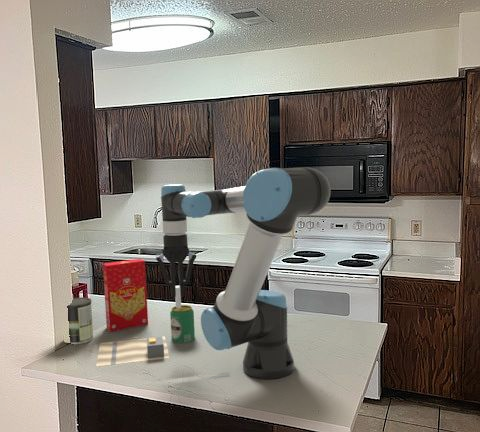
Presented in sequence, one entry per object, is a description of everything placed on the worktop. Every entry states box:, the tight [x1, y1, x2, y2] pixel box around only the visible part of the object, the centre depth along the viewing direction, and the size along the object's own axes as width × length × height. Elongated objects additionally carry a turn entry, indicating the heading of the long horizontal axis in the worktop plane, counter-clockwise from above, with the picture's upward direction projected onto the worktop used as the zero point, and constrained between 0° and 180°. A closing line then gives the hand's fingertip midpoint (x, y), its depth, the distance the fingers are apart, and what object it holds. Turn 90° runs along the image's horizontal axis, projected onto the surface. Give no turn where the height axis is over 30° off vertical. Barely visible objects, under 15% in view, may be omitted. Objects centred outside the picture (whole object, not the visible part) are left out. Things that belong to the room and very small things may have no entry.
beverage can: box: [170, 304, 196, 344], centre depth 166 cm, size 8×8×12 cm
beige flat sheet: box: [95, 336, 170, 368], centre depth 157 cm, size 20×22×1 cm
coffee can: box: [67, 297, 94, 345], centre depth 172 cm, size 10×10×14 cm
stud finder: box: [147, 336, 164, 358], centre depth 154 cm, size 7×5×5 cm
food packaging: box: [102, 258, 149, 332], centre depth 185 cm, size 15×5×25 cm, turn 120°
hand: (178, 306), depth 154 cm, fingers closed
